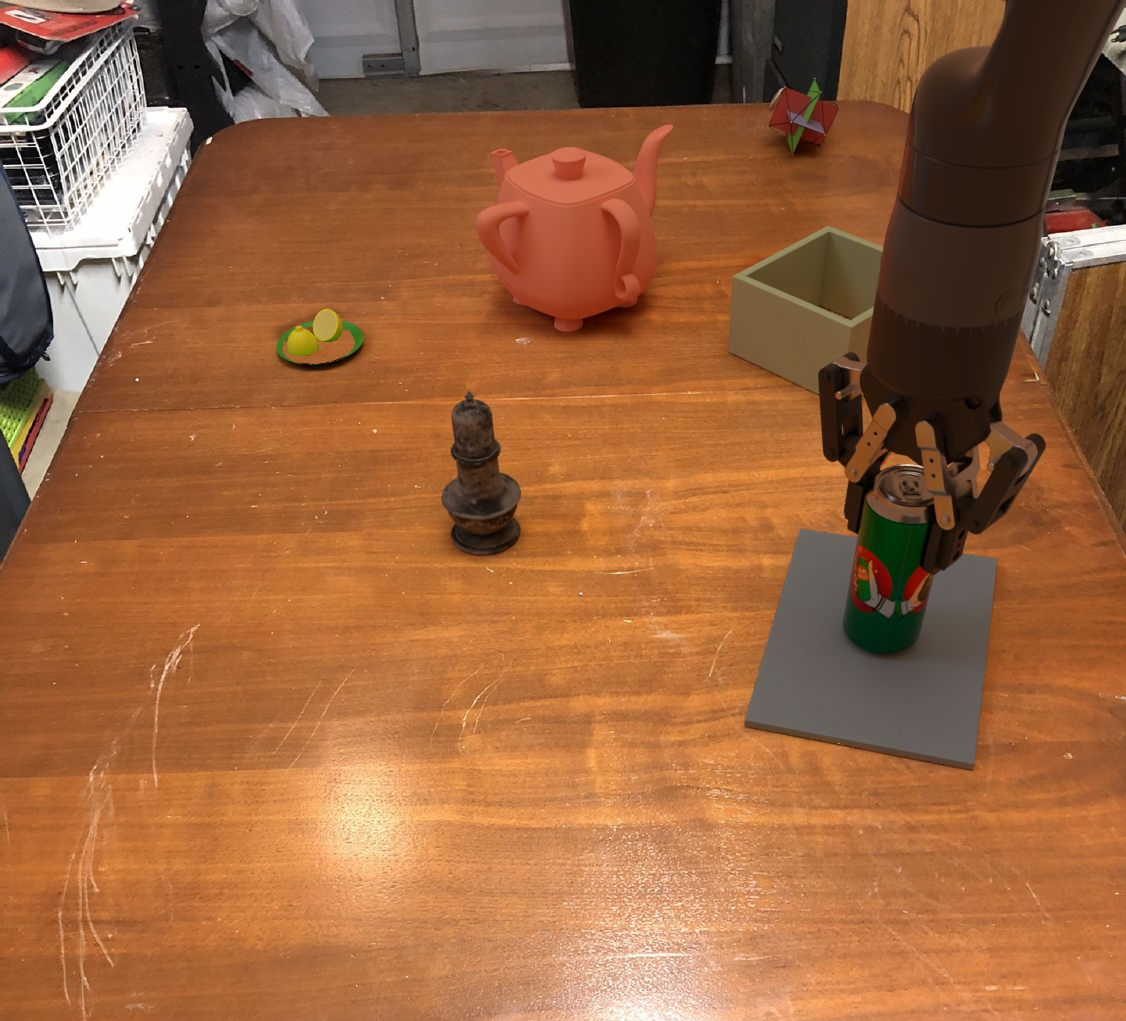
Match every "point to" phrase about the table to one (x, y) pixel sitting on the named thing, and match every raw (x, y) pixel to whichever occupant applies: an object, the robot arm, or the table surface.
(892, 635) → the soda can
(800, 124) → the geometric puzzle
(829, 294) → the bin
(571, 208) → the teapot
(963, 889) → the table surface
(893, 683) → the mat
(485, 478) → the salt shaker
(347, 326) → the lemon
